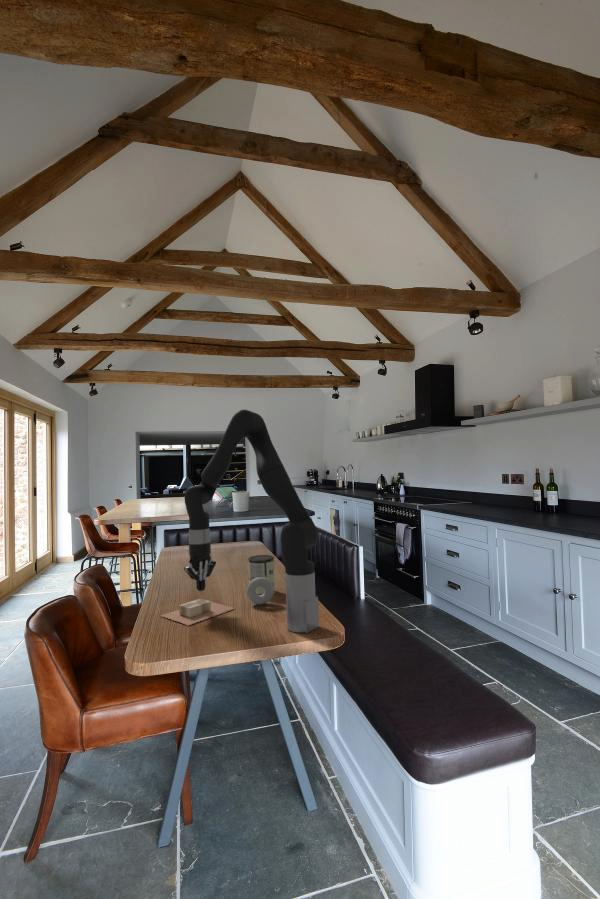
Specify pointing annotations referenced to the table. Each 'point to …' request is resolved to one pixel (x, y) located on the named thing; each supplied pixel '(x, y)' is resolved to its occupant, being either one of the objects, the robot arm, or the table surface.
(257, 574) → the coffee can
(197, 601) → the beige rectangular block
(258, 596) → the donut
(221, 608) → the mat
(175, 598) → the table surface
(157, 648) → the table surface
